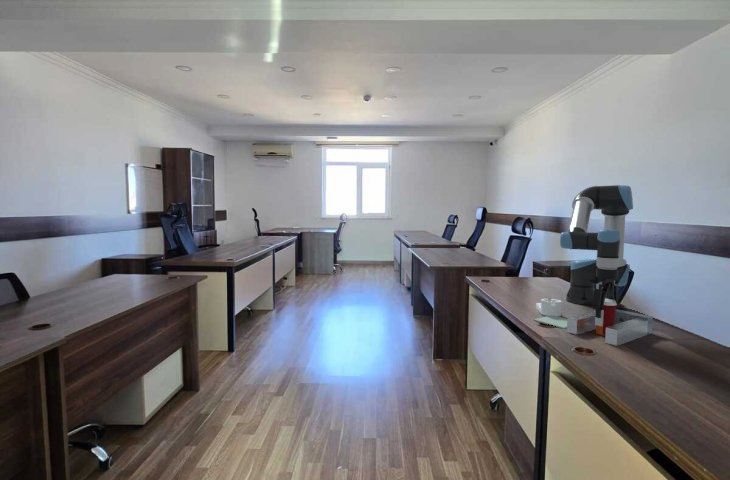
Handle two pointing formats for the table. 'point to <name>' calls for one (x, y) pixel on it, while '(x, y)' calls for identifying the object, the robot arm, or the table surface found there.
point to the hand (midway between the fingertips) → (604, 323)
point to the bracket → (549, 307)
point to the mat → (553, 321)
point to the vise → (614, 326)
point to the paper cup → (607, 316)
